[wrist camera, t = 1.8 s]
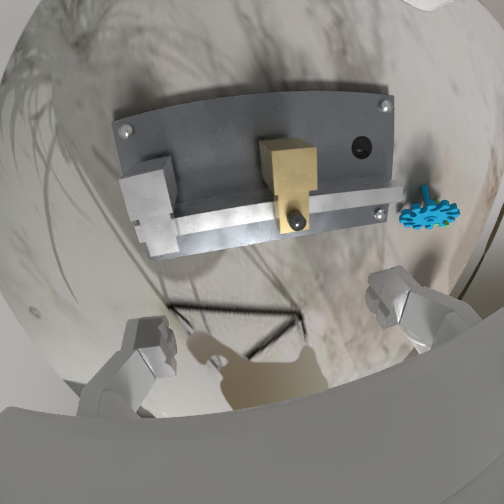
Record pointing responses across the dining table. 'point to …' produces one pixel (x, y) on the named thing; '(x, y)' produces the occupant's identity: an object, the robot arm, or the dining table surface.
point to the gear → (429, 213)
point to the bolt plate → (248, 152)
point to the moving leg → (289, 180)
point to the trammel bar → (226, 203)
